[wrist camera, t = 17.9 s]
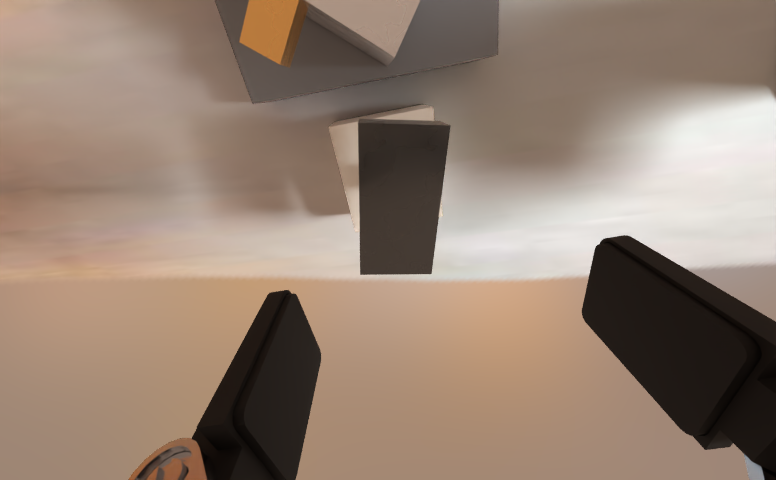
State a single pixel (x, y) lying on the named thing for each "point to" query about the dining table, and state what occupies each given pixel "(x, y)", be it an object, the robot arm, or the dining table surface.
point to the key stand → (347, 150)
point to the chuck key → (400, 193)
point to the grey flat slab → (353, 66)
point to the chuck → (327, 25)
